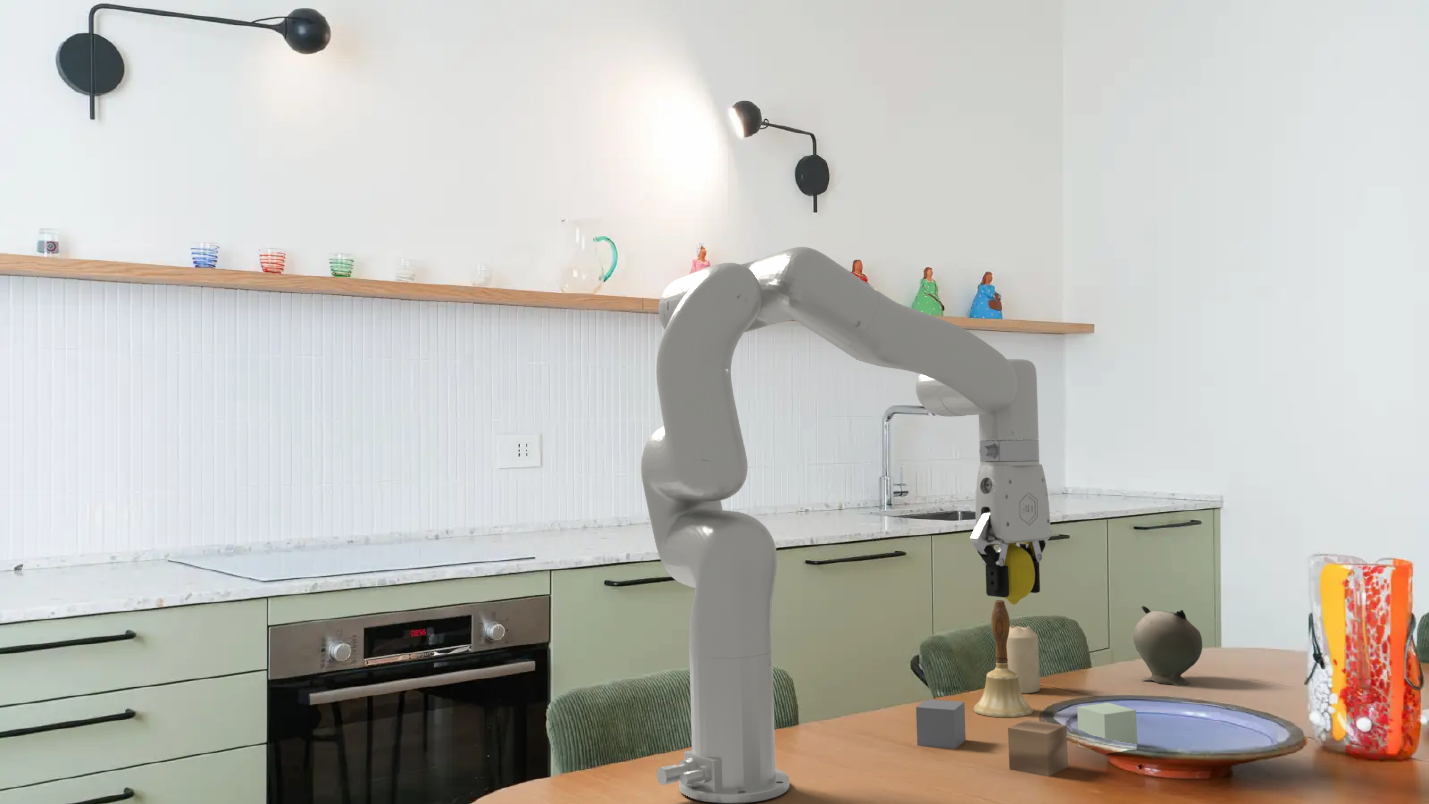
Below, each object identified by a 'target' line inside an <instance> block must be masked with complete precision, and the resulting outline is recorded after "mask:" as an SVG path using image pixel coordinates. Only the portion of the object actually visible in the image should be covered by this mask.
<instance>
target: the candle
mask: <svg viewBox="0 0 1429 804" xmlns="http://www.w3.org/2000/svg"><path fill="white" fill-rule="evenodd" d="M1039 656H1040V654H1039V635H1038V634H1037V633H1036V632H1035V631H1034V630H1033V629H1032V627H1030V626H1029V625H1028V626H1026V627H1023V626H1017V625H1013V624H1010V628H1009V635H1008V639H1007V659H1008V668H1009V669H1010V670H1011V671H1012V672H1014V673H1016V674H1017V675H1018V681H1019V686H1020V690H1021V694H1032V693H1034V694H1035V693H1038V692H1040V690H1041V688H1040V687H1041V684H1040V659H1039Z"/></svg>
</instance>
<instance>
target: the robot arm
mask: <svg viewBox="0 0 1429 804" xmlns="http://www.w3.org/2000/svg"><path fill="white" fill-rule="evenodd" d="M660 296H661V297H660V299H659V303H658V316H659V321H660V324H661V326H662V327H663V329H664V331H663V334H662V338H661V340H660V344H659V347H658V352H657V357H656V358H657V359H656V368H655V369H656V370H655V371H656V383H657V392H658V397H659V404H660V410H661V416H662V421H663V422H662V423H663V425H662V426H661V427H658V429H656V430H655V431H654V432H653V433H652V434H651V435H650V437H649V438H648V439H647V441H646V443H645V446H644V447H643V451H642V457H641V462H640V463H641V465H640V473H641V479H642V480H641V481H642V486H643V491H644V497H645V501H646V505H647V510H648V515H649V519H650V524H651V529H652V533H653V538H654V543H655V547H656V550H657V554H658V557H659V559H660V561H661V564H662V566H663V568H664V570H665V571H666V572H667V573H668V575H669V576H670V577H671V578H673V580H675V581H676V582H678V583H680V584H682V585H684V586H687V587H689V588H695V589H694V595H693V601H692V604H691V605H692V606H691V610H690V616H689V624H688V625H689V626H688V650H689V651H688V653H689V676H690V677H689V682H690V683H689V684H690V685H689V687H690V721H691V723H690V724H691V725H690V726H691V749H690V750H686V751H683V754H684V755H683V756H684V757H683V758H684V759H682V760H680V761H679V763H678V764H670V765H666V766H661V767H659V768H657V771H656V778H657V782H658V783H659V785H661V786H664V785H671V784H674V783H677V782H679V783H678V784H679V786H678V789H679V791H680V793H682V795H684V796H685V795H686V797H687V796H688V798H689V797H690V799H692V800H696V801H700V802H706V803H712V804H714V803H715V804H747V803H757V802H761V801H762V802H763V801H767V800H770V799H771V800H772V799H774V798H777V797H779V796H781V795H784V793H786V792H787V791H788V790H789V788H790V776H789V775H788V774H787V773H786V772H785V771H784V770H780V769H779V768H777V767H776V743H775V742H776V740H775V739H776V738H775V709H774V708H775V707H774V706H775V705H774V697H775V696H774V672H773V671H774V669H773V665H774V664H773V662H774V661H773V659H774V658H773V640H772V639H773V638H772V635H773V632H772V631H773V630H772V624H773V622H772V619H773V618H772V614H773V600H774V599H773V598H774V592H775V591H774V590H775V585H776V584H775V583H776V576H777V571H778V570H777V568H778V554H777V547H776V544H775V540H774V538H773V536H772V534H771V532H770V531H769V530H768V528H767V527H766V526H765V525H764V523H762V522H761V521H760V520H758V519H757V518H756V517H753V516H751V515H749V514H747V513H743V512H740V511H734V510H723V505H722V501H723V500H727V499H730V498H731V497H732V496H734V495H736V494H737V493H738V492H739V491H740V490H741V489H742V487H743V486H744V484H745V482H746V480H747V476H748V457H747V452H746V448H745V444H744V439H743V434H742V430H741V425H740V420H739V415H738V411H737V407H736V401H735V396H734V390H733V382H732V361H733V357H734V353H735V349H736V347H737V345H738V344H739V341H740V339H741V338H742V336H743V335H744V334H745V333H748V332H750V331H751V332H752V331H755V330H758V329H762V328H766V327H768V326H772V325H776V324H779V323H783V322H788V321H792V320H793V321H795V322H797V323H799V324H800V325H802V326H803V327H805V328H807V329H808V330H809V331H812V332H813V333H815V334H817V335H818V336H819V337H821V338H823V339H824V340H826V342H829V343H830V344H832V345H834V346H835V347H837V348H838V349H840V350H841V351H843V352H844V353H845V354H847V355H849V356H850V357H852V358H853V359H855V360H858V361H860V362H863V363H865V364H870V365H873V366H877V367H880V368H881V367H882V368H889V369H897V370H903V371H908V372H912V373H916V374H918V377H917V380H916V382H915V393H916V397H917V399H918V401H919V403H920V404H921V405H922V406H923V408H924V409H926V410H927V411H928V412H930V413H931V414H934V415H937V416H939V417H940V416H941V417H965V416H975V415H976V416H978V436H979V437H978V438H979V439H978V440H979V449H978V450H979V466H978V472H977V480H976V489H975V490H976V491H975V527H974V529H973V531H972V534H971V536H970V537H969V541H970V543H971V544H972V546H973V547H974V548H975V549H976V550H977V553H978V555H979V556H980V557H981V563H982V564H983V565H984V566H985V589H986V590H985V593H986V595H987V596H988V597H996V598H1004V597H1008V596H1009V574H1008V566H1005V565H1004V563H1005V559H1006V553H1007V548H1008V544H1009V543H1015V544H1016V545H1017V546H1019V547H1021V548H1023V549H1024V550H1026V551H1027V552H1028V553H1029V555H1030V556H1031V558H1032V561H1033V565H1034V570H1035V581H1034V586H1033V588H1032V590H1031V592H1030V593H1029V594H1031V593H1034V594H1038V593H1040V591H1041V583H1040V581H1041V576H1040V573H1041V572H1040V562H1042V560H1043V554H1042V553H1043V551H1044V549H1045V548H1046V544H1047V543H1048V541H1049V539H1050V538H1051V536H1052V530H1051V515H1050V514H1051V513H1050V502H1049V495H1048V493H1049V492H1048V488H1047V487H1048V486H1047V480H1046V475H1045V472H1044V468H1043V464H1041V463H1040V440H1039V439H1040V437H1039V411H1038V410H1039V408H1038V381H1037V379H1038V378H1037V377H1038V376H1037V368H1036V365H1035V364H1034V362H1032V361H1031V360H1028V359H1022V358H1006V357H1005V356H1004V355H1003V354H1002V353H1001V352H999V350H997V349H995V348H994V347H993V346H992V345H990V344H988V343H987V342H986V341H984V340H983V339H982V338H980V337H979V336H977V335H975V334H974V333H972V332H971V331H969V330H967V329H965V328H963V327H961V326H958V325H956V324H954V323H952V322H950V321H947V320H945V319H942V318H940V317H936V316H934V315H930V314H928V313H926V312H923V311H920V310H918V309H916V308H913V307H910V306H907V305H903V304H900V303H898V302H896V301H895V300H892V298H889V296H887V295H886V294H884V293H882V292H880V291H879V290H878V289H876V288H874V287H873V286H872V285H870V284H868V283H867V282H866V281H864V280H862V279H861V278H860V277H858V276H856V275H855V274H854V273H852V272H851V271H850V270H848V269H847V268H845V267H844V266H843V265H840V264H839V263H838V262H837V261H835V260H833V259H832V258H830V257H829V256H827V255H826V254H824V253H822V252H820V251H819V250H817V249H814V248H810V247H806V246H796V247H792V248H788V249H785V250H783V251H779V252H776V253H773V254H770V255H767V256H765V257H761V258H758V259H755V260H752V261H747V262H744V263H742V264H740V263H736V262H722V263H717V264H714V265H710V266H707V267H705V268H702V269H699V270H697V271H694V272H692V273H689V274H686V275H683V276H681V277H678V278H677V279H675V280H673V281H672V282H671V283H670V284H668V286H667V287H666V288H665V289H664V290H663V292H662V294H661V295H660ZM994 547H996V548H997V551H996V549H995V548H994Z"/></svg>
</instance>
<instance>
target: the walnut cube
mask: <svg viewBox="0 0 1429 804" xmlns="http://www.w3.org/2000/svg"><path fill="white" fill-rule="evenodd" d="M1007 730H1008V731H1007V736H1008V737H1007V738H1008V739H1007V741H1008V762H1009V763H1008V766H1009V768H1008V769H1009V771H1015V772H1021V773H1025V774H1032V775H1038V776H1044V777H1051V776H1052V775H1054V774H1057V773H1059V772H1061V771H1063V770H1065V769H1067V768H1069V758H1068V757H1069V756H1068V754H1069V753H1068V735H1067V734H1068V732H1067V731H1068V729H1067V725H1066V724H1059V723H1052V722H1045V721H1038V720H1031V719H1027V720H1024V721H1022V722H1019V723H1016V724H1014V725H1011V726H1009V727H1007ZM1066 736H1067V738H1066Z"/></svg>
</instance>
